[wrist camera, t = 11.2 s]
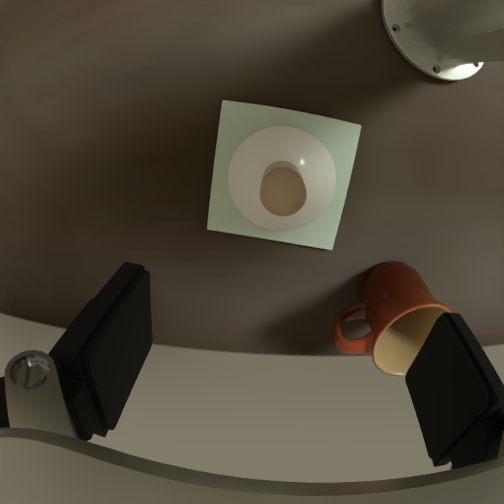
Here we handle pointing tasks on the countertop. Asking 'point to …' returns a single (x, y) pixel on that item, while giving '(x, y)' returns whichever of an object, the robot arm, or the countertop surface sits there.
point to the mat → (259, 117)
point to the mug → (391, 317)
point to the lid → (281, 178)
